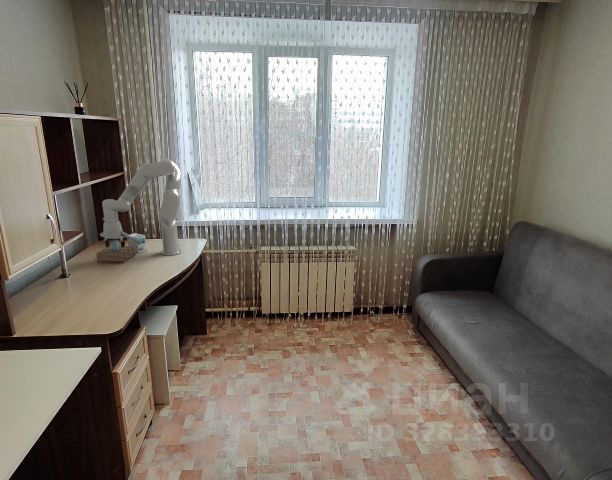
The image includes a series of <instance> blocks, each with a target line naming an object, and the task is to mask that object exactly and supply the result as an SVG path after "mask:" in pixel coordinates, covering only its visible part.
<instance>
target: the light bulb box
mask: <svg viewBox="0 0 612 480" xmlns="http://www.w3.org/2000/svg"><path fill="white" fill-rule="evenodd" d="M146 239H147V238H146V235H145V234H140V233H136V232H134V233H131V234H128V236H127V238H126V240H127V246H135V252H136V254H140V253H144V252H147V251H148V247H147V240H146Z"/></svg>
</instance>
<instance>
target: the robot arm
mask: <svg viewBox="0 0 612 480" xmlns="http://www.w3.org/2000/svg"><path fill="white" fill-rule="evenodd" d="M181 175H182V174H181V170H180V168H179V167H178V165H177V163H175V162H174V161H173V160H171V159H170V158H164V159H162V160H161V161H158V162H157V161H156V162H153V163H152V162H144V163H143V164H142V165H140V167H139V169H138V170H137V172H136V173H135V174H134V176H133V177H132V178H131V180H130V181H129V182H128V185H127V186H126V188H125V189H124V191H123V192H122V193H121V195H120V196H119V198H118V199H117V200H115V199H111V198H109V199H104V200H103V201H102V202H101V204H102V211H103V218H102V220H103V221H104V222H103V231H102V232H100V233H99V236H100V237H101V239H102V240H103V242H104V244H105V248H107V247H109V246H111V244H110V240H120V246H121V247H122V248H123V247H125V246H126V240H127V236H128V235H129V233H127V232H125V231H123V227H122V223H121V221H120V220H119V214H118V212H120V213H121V212H122V213H124V212H128V211H129V210H130V208H131V204H132V203H133V202H134V201H135V198H136V197H137V196H138V195H139V194H140V193H142V192H143V191H144V189H145V188H146V186H147V185H148V183H150V181H151V179H154V178H159V177H163V176H166V178H165V179H166V180H165V186H164V191H163V194H162V202H161V203H162V204H161V207H160V208H159V211H158V213H159V221H160V222H159V223H160V231H161V232H160V233H161V239H162V249H163V250H161V251H160V254H161V255H163V256H175V255H179V254H181V253H182V249H181V248H180V247H179V246H180V243H179V239H178V235H179V234H178V226H177V215H178V210H179V205H180V202H181V201H180V200H181V198H180V194H179V193H180V187H181V181H182V176H181Z"/></svg>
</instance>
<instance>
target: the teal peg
mask: <svg viewBox="0 0 612 480" xmlns="http://www.w3.org/2000/svg"><path fill="white" fill-rule="evenodd" d="M111 243H112V246H113V251H118V250H119V246H120V245H119V241H118V239H114V240H112V241H111Z"/></svg>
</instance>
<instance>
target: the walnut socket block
mask: <svg viewBox="0 0 612 480" xmlns="http://www.w3.org/2000/svg"><path fill="white" fill-rule="evenodd" d="M118 246H119V250H118V251H113V245H110V246H109V247H105V248H104V249H102V250H100V251H98V252H96V253H95V254H96V262H97V264H125V263H127V262H128V261H129V260H131V259H132V258H134V257H135V256H136V255H137V253H136V252H135V246H128V245H125V247H123V248H122V247H121V245H118Z"/></svg>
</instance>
